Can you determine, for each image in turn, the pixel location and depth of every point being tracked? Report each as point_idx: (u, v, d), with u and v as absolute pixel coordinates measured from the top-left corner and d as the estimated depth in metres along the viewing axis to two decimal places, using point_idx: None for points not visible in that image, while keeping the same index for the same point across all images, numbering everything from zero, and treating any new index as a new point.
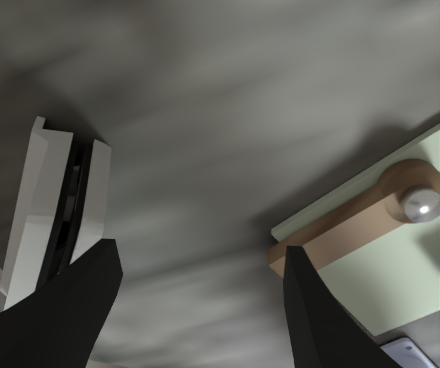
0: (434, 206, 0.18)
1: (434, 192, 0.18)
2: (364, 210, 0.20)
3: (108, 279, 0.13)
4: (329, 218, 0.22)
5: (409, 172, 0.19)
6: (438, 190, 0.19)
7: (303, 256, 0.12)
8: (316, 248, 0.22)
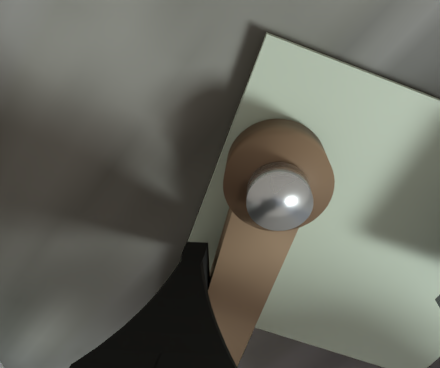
0: (291, 194, 0.10)
1: (275, 172, 0.10)
2: (224, 241, 0.12)
3: None
4: (213, 263, 0.14)
5: (229, 160, 0.11)
6: (295, 159, 0.10)
7: (196, 252, 0.13)
8: (219, 313, 0.14)
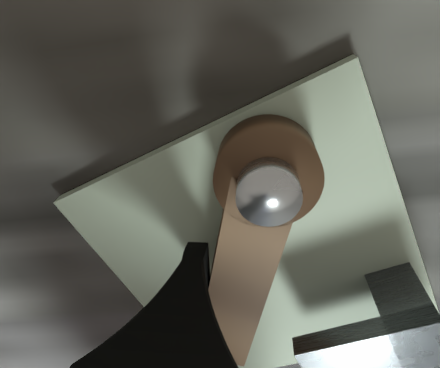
0: (284, 199, 0.10)
1: (289, 172, 0.10)
2: (219, 241, 0.12)
3: None
4: (212, 263, 0.14)
5: (217, 159, 0.11)
6: (282, 153, 0.10)
7: (197, 252, 0.13)
8: (221, 313, 0.14)
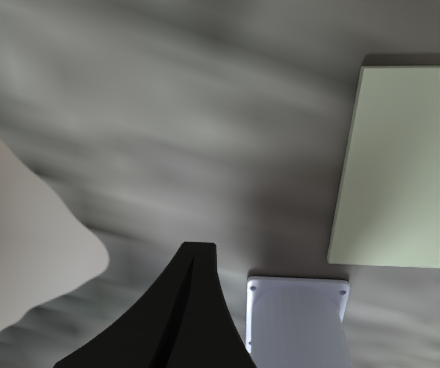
0: None
1: None
2: None
3: None
4: None
5: None
6: None
7: (209, 252, 0.13)
8: None
